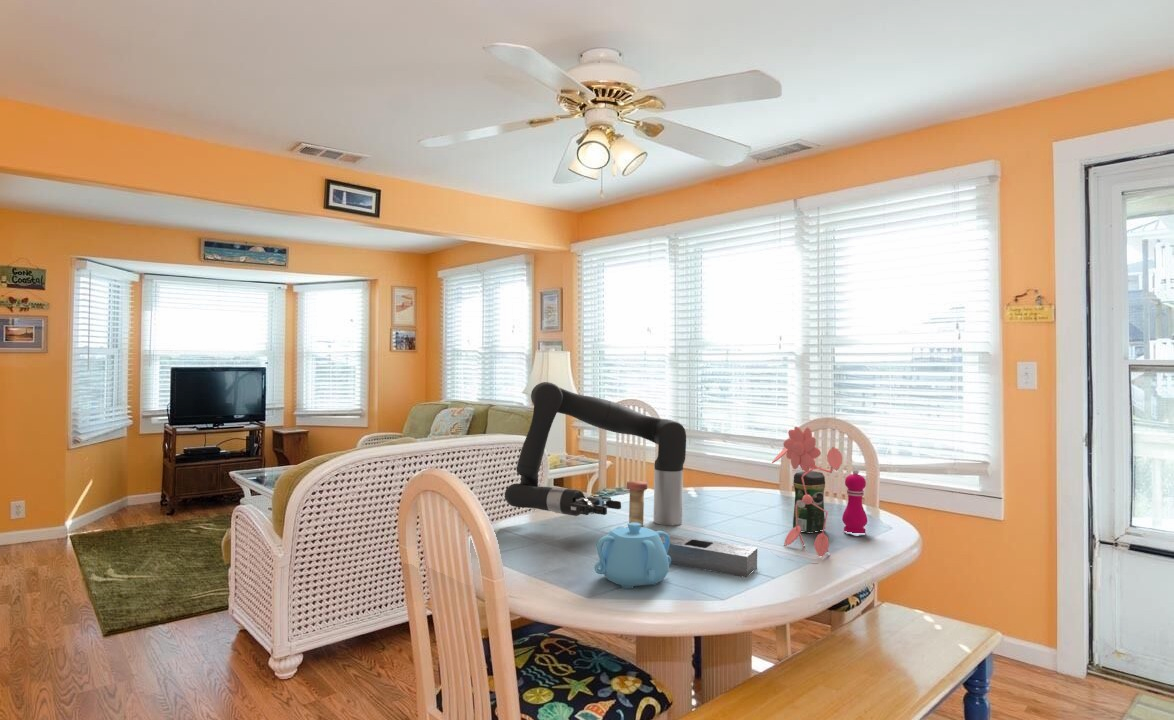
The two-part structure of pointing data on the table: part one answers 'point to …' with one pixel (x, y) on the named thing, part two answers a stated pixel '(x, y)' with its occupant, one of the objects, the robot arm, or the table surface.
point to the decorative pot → (633, 556)
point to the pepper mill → (855, 504)
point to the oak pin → (636, 501)
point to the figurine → (804, 454)
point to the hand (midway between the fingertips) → (613, 508)
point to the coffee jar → (809, 514)
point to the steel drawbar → (712, 555)
